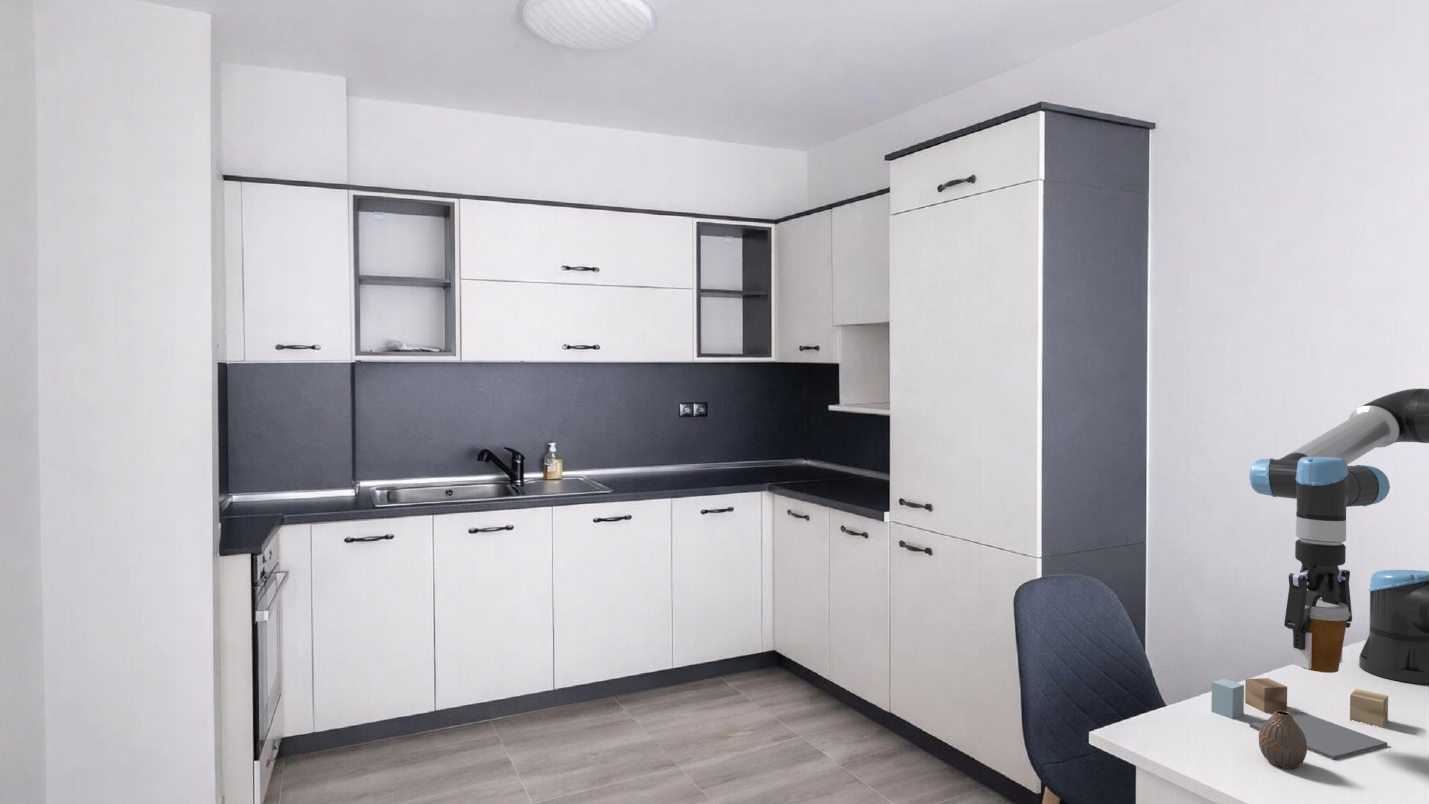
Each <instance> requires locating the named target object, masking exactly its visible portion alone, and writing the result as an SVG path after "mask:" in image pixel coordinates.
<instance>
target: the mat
mask: <svg viewBox="0 0 1429 804" xmlns="http://www.w3.org/2000/svg"><path fill="white" fill-rule="evenodd" d="M1290 714H1291V715H1292V717H1293V719H1294V721H1295V722H1296V723H1297V724H1298V726H1299V727H1300V728H1301V730H1302V731H1303V733H1304V735H1305V738H1306V741H1307V751H1311V752H1312V751H1313V753H1316V754H1318V755H1320V754H1321V756H1323V757H1326V758H1328V759H1330V758H1331V760H1332V761H1333V760H1338V759H1342V758H1346V757H1349V756H1350V757H1351V756H1353V754H1354V755H1358V754H1360V753H1365V752H1369V751H1373V750H1376V748H1377V749H1380V748H1384V747H1388V741H1384V740H1382V739H1379V738H1376V737H1373V736H1370V735H1368V734H1365V733H1361V732H1359V731H1356V730H1353V729H1351V728H1348V727H1346V726H1343V725H1339V724H1337V723H1334V722H1332V721H1328V720H1326V719H1323V718H1320V717H1318V716H1314V715H1311V714H1309V713H1307V712H1306V713H1305V712H1304V711H1301V712H1296V713H1290ZM1267 720H1268V719H1264V720H1259V721H1255V722H1251V723H1249V728H1253V729H1254V730H1256V731H1259V732H1260V729H1261V727H1262V725H1263V724H1264V722H1266V721H1267ZM1372 749H1373V750H1372ZM1364 751H1365V752H1364ZM1341 757H1342V758H1341Z"/></svg>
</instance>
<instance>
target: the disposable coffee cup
mask: <svg viewBox="0 0 1429 804" xmlns="http://www.w3.org/2000/svg"><path fill="white" fill-rule="evenodd" d="M1309 607H1310V606H1306V605H1305V609H1306V608H1309ZM1309 615H1310V618H1311V624H1310V627H1309V630H1308V632H1310V633H1312V653H1311V669H1307V668H1304V667H1301V668H1302V669H1306V670H1308V671H1311V672H1312V671H1313V672H1318V673H1328V674H1333V673H1338V672H1339V670H1340V665H1341V663H1340V658H1341V653H1342V654H1343V650H1342V647H1343V646H1344V643H1345V640H1344V639H1345V634H1346V629H1347V628H1346V624H1347V620H1348V619H1349V616H1350V615H1351V613H1350V612H1349V611H1348V607H1347V605H1345V604H1343V603H1340V602H1339V604H1338V605H1335V604H1331V603H1327V602H1323V601H1322V597H1321V598H1319V599H1318V600H1317V604H1316V607H1311V611H1310V614H1309ZM1343 648H1344V647H1343Z"/></svg>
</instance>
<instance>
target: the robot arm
mask: <svg viewBox="0 0 1429 804" xmlns="http://www.w3.org/2000/svg"><path fill="white" fill-rule="evenodd" d="M1395 443H1420V444H1429V388H1410V389H1404V390H1400V391H1396V392H1391V393H1389V394H1387V395H1384V396H1381V397H1378V398H1375V399H1373V400H1372V401H1368V402H1367V403H1365V404H1363V405H1361V406H1360V407H1358V408H1356V409H1354V410H1353V411H1352V412H1351V413H1350V416H1349V418H1348V419H1347V420H1345V421H1344V422H1341V423H1340V424H1337V426H1335V427H1333V428H1331V429H1330V430H1328V431H1326V432H1325V433H1323V434H1321V435H1319V436H1318V437H1315V438H1314V439H1312V440H1311V441H1308V442H1306V444H1304V445H1302V446H1300V447H1299V448H1297V449H1295V450H1293V451H1292V452H1290V453H1288V454H1286V455H1285V456H1283V457H1281V458H1279V459H1278V458H1277V459H1274V458H1273V457H1272V458H1261V459H1257V460H1256V461H1255V462H1253V464H1252V465H1251V467H1250V469H1249V473H1248V474H1249V477H1248V478H1249V483H1250V486H1251V488H1252V489H1253V491H1254V492H1256V493H1257V494H1260V495H1265V496H1270V497H1272V498H1284V499H1293V500H1296V511H1295V513H1296V514H1295V515H1296V519H1295V524H1296V525H1295V536H1296V537H1297V538H1298V539H1297V540H1296V541H1295V542H1294V544H1295V546H1294V547H1295V550H1294V551H1295V552H1294V553H1295V554H1294V558H1295V559H1296V560H1297V561H1299V562H1300V563H1301V568H1300V570H1299V573H1291V572H1290V573H1289V574H1288V584H1289V585H1288V586H1289V587H1288V588H1289V589H1288V593H1287V595H1288V596H1287V601H1286V610H1285V615H1284V624H1283V625H1284V627H1285V628H1287V629H1289V630H1290V629H1291V630H1292V637H1293V638H1292V640H1293V641H1292V642H1293V643H1292V647H1293V656H1292V657H1293V660H1292V661H1293V662H1292V664H1293V665H1295V666H1297V667H1299V668H1302V667H1304V668H1307V669H1306V670H1308V669H1311V653H1312V633H1310V632H1308V630H1309V627H1310V624H1311V618H1310V615H1309V614H1310V611H1311V607H1316V604H1317V600H1318V599H1319V598H1322V601H1323V602H1327V603H1331V604H1335V605H1338V604H1339V602H1340V603H1343V604H1345V605H1347V607H1348V611H1349V612H1350V613H1351V615H1350V616H1349V619H1348V620H1347V624H1346V629H1349V628H1350V627H1351V623H1352V622H1353V613H1352V611H1353V610H1352V603H1351V602H1352V601H1351V591H1350V579H1351V578H1350V577H1351V571H1350V570H1347V569H1341V568H1339V566H1343V565H1345V564H1346V556H1347V555H1346V551H1347V550H1346V549H1347V547H1346V545H1345V544H1344V542H1346V541H1347V508H1349V507H1351V508H1352V507H1368V506H1371V505H1374V504H1378V503H1380V502H1382V501H1383V500H1385V499H1386V498H1387V496H1388V494H1390V488H1391V486H1390V485H1391V484H1390V480H1389V478H1388V476H1387V474H1386V473H1385V472H1384V471H1382V470H1381V469H1380V468H1378V467H1374V466H1372V465H1362V464H1356V465H1349V464H1351V463H1353V462H1354V461H1356V460H1358V459H1359V458H1361V457H1363V456H1364V455H1366V454H1367V453H1369V452H1371V451H1372V450H1374V449H1375V448H1386V447H1388V446H1391V445H1393V444H1395ZM1368 592H1369V631H1368V632H1369V634H1368V636H1367V638H1366V641H1365V642H1364V646H1363V647H1362V649H1361V652H1360V653H1359V656H1358V661H1359V663H1358V667H1360V668H1361V670H1363V671H1365V672H1367V673H1369V674H1372V675H1374V676H1377V677H1381V678H1384V679H1389V680H1394V681H1396V682H1397V681H1399V682H1404V683H1409V684H1410V683H1412V684H1419V685H1421V684H1422V685H1429V571H1428V570H1416V569H1387V570H1386V569H1385V570H1379V571H1376V572H1374V573H1372V575H1371V578H1370V585H1369V590H1368ZM1305 605H1306V606H1310V607H1309V608H1306V609H1305ZM1343 648H1344V647H1342V651H1343ZM1341 663H1343V652H1342V653H1341V658H1340V664H1341ZM1304 668H1303V669H1304Z"/></svg>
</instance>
